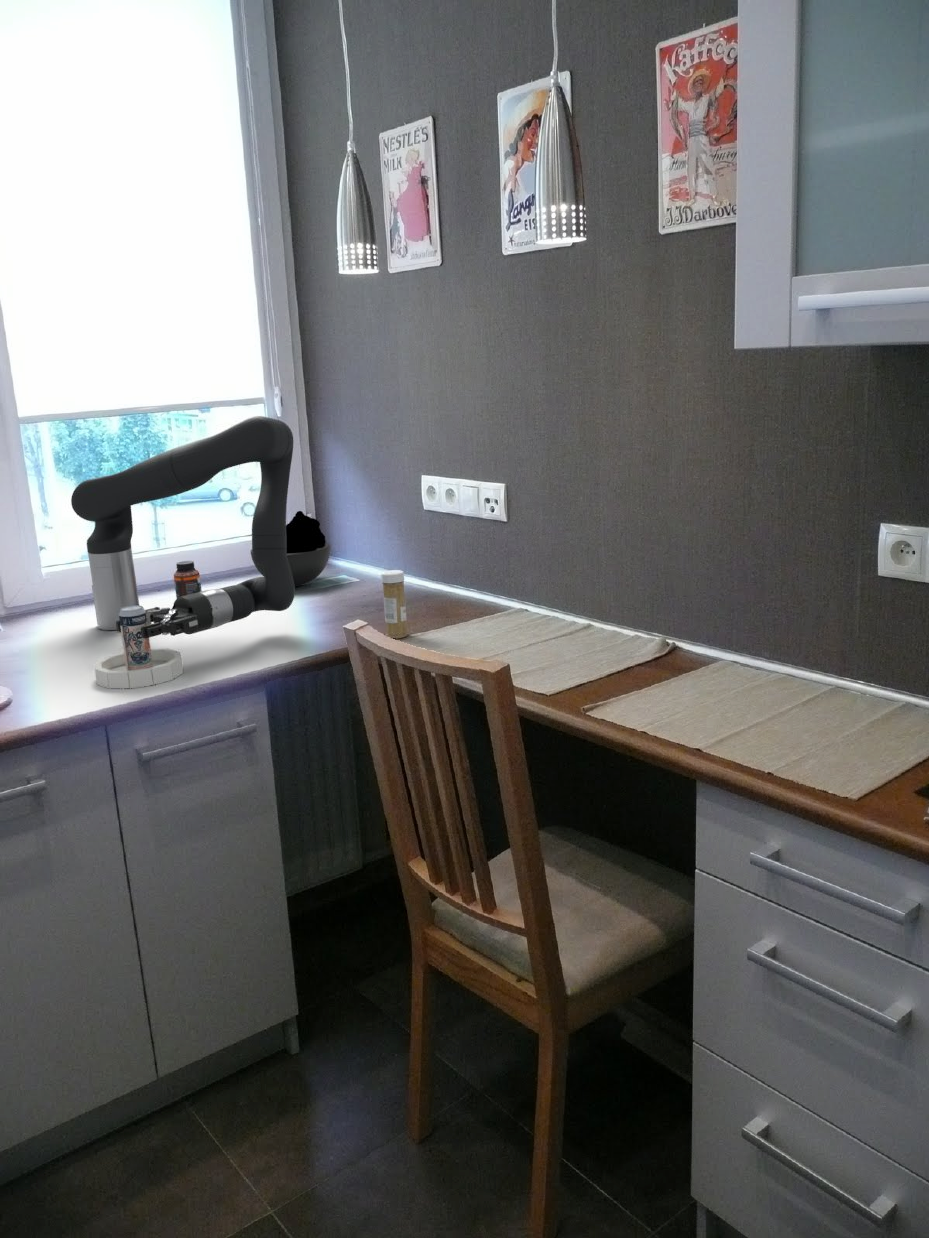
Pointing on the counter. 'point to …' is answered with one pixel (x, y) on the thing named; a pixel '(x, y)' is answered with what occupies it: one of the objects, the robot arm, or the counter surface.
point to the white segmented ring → (117, 676)
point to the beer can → (135, 638)
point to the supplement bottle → (186, 579)
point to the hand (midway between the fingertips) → (129, 629)
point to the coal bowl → (304, 549)
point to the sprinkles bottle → (394, 603)
